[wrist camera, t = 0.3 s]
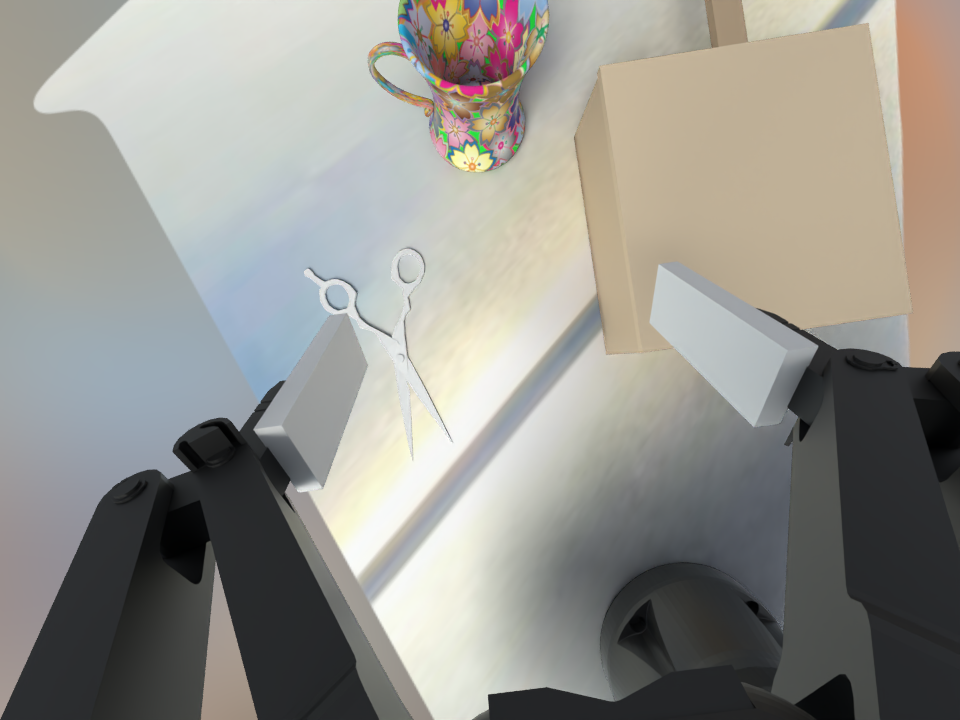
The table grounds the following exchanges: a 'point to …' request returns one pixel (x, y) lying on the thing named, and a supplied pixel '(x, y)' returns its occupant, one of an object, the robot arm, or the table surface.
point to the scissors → (390, 340)
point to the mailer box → (604, 230)
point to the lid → (758, 174)
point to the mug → (469, 72)
